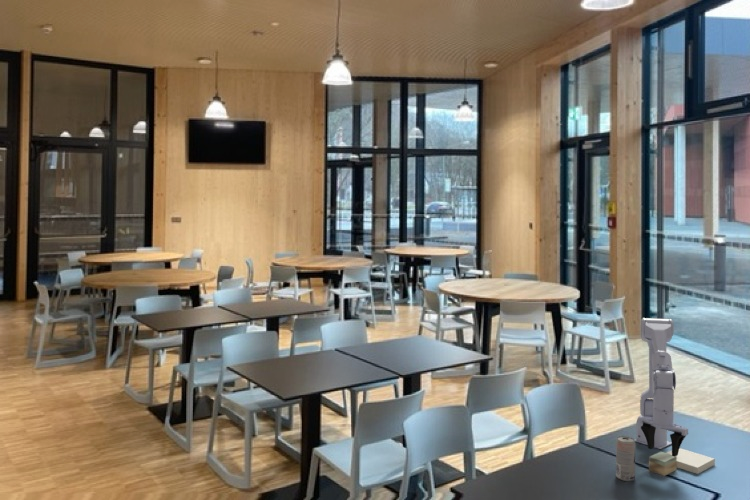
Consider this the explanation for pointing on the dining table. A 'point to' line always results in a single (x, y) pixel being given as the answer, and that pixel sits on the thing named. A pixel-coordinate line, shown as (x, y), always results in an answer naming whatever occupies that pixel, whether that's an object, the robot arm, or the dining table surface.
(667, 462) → the sage green block
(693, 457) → the white stand
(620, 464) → the energy drink
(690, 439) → the dining table surface
